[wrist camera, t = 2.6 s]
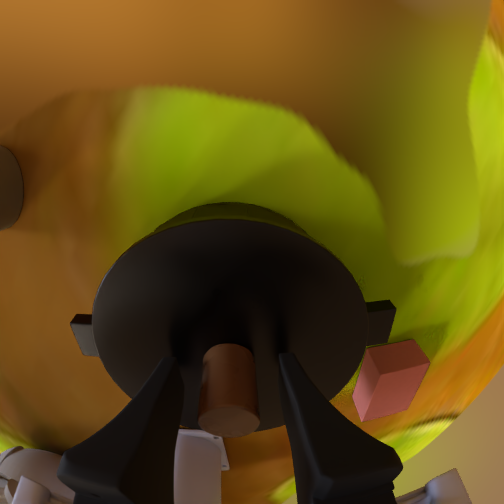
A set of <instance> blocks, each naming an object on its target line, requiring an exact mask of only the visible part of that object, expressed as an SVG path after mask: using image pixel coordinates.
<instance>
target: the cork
mask: <svg viewBox="0 0 504 504" xmlns="http://www.w3.org/2000/svg"><path fill="white" fill-rule="evenodd" d="M22 202H23V180H22V175H21V170H20V167H19V165H18V163H17V161H16V158H15V157H14V155H13V154H12V153H11V152H10V151H9V149H7V148H5V147H3V146H0V231H1V230H4V229H6V228H9V227H11V226H12V225H13V224H14V223H15V222H16V221H17V219H18V216H19V214H20V212H21V209H22Z"/></svg>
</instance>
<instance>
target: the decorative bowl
mask: <svg viewBox="0 0 504 504" xmlns="http://www.w3.org/2000/svg"><path fill="white" fill-rule="evenodd" d="M61 458H62V456H61V455H59V454H55V453H52V452H49V451H45V450H39V449H24V448H23V447H22V446H18V447H13V448H10V449H8V450H6V451H4V452H2V453H1V454H0V504H12V502H13V499H14V496H15V493H16V490H17V487H18V484H19V481H20V478H21V476H25V477H27V478H29V479H32V480H34V481H36V482H38V483H40V484H42V485H43V486H45V487H46V488H48V489H49V490H50V491H51V492H53V493H56V494H58V495H61V496H63V497H66V498H69V499H72V500H74V496H75V492H74V491H73V490H71V489H70V488H69V487H67V486H66V485H65V484H64V483H62V482H61V481H60V480H59V479H58V477H57V476H56V473H57V470H58V467H59V464H60V461H61Z"/></svg>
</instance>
